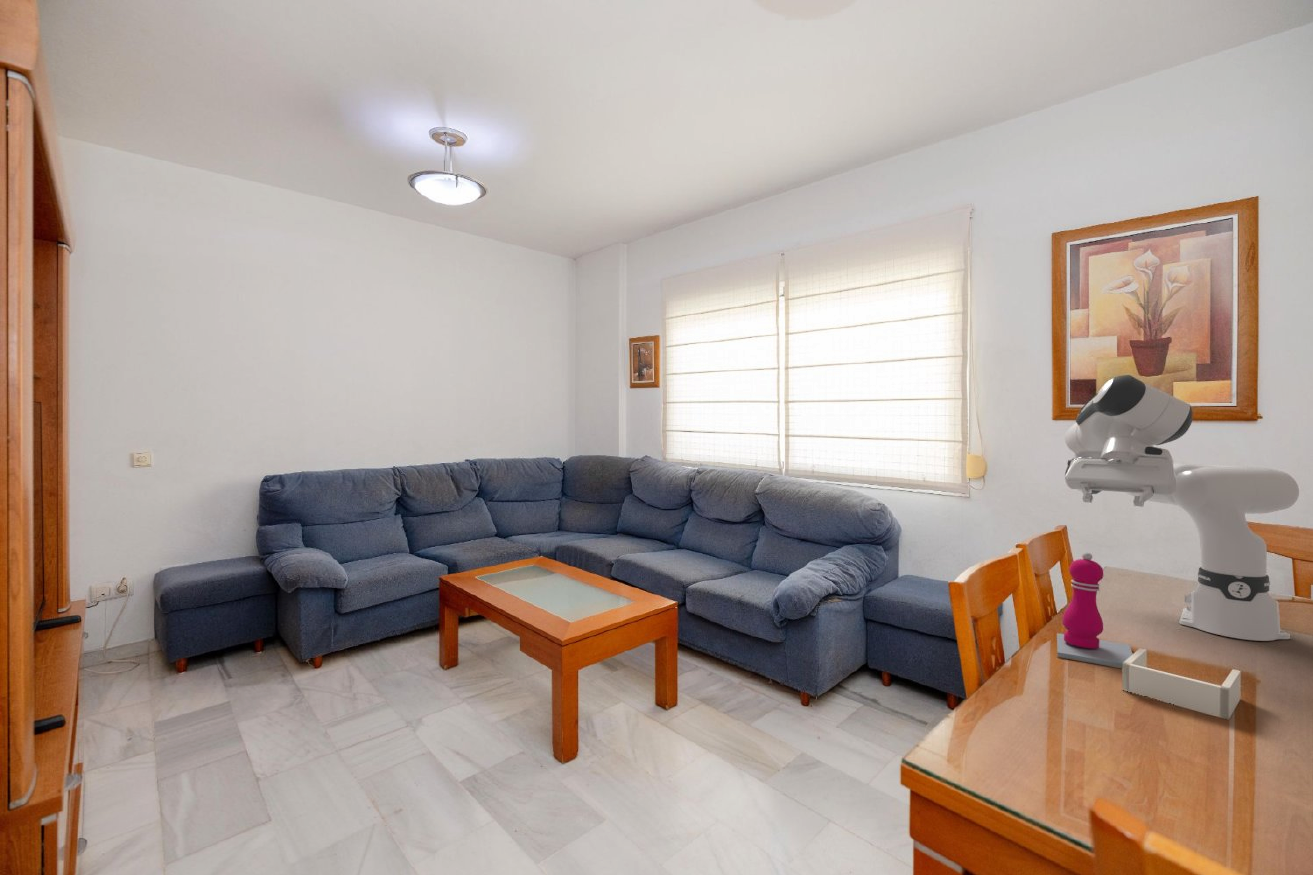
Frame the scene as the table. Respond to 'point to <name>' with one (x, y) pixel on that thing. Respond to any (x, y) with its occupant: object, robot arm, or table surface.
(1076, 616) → the pepper mill
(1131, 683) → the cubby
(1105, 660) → the pad
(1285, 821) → the table surface
